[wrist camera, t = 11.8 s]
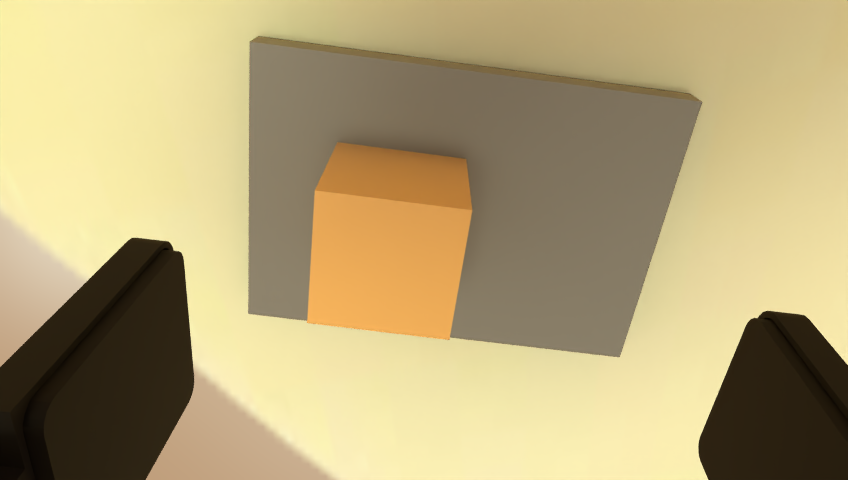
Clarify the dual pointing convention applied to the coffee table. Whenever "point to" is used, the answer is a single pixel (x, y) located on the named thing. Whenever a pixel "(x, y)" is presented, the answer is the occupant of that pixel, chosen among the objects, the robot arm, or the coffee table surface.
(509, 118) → the grey oblong slab
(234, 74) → the coffee table surface
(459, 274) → the orange cube
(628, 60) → the coffee table surface
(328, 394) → the coffee table surface
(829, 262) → the coffee table surface
